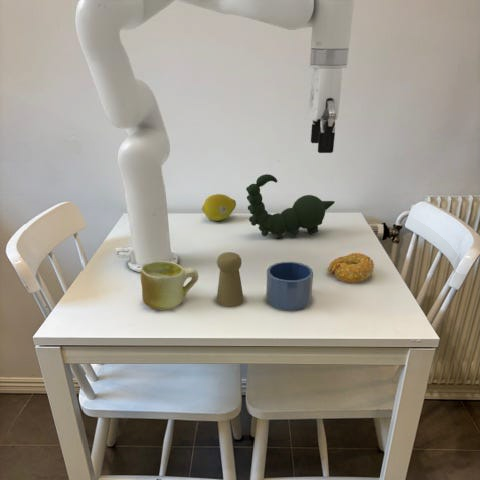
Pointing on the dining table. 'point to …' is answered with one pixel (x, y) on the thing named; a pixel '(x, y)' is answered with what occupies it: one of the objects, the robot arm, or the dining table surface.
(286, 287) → the crock
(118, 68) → the robot arm
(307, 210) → the toy figurine
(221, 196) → the lemon
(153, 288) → the mug
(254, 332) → the dining table surface
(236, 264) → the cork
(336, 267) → the bagel
